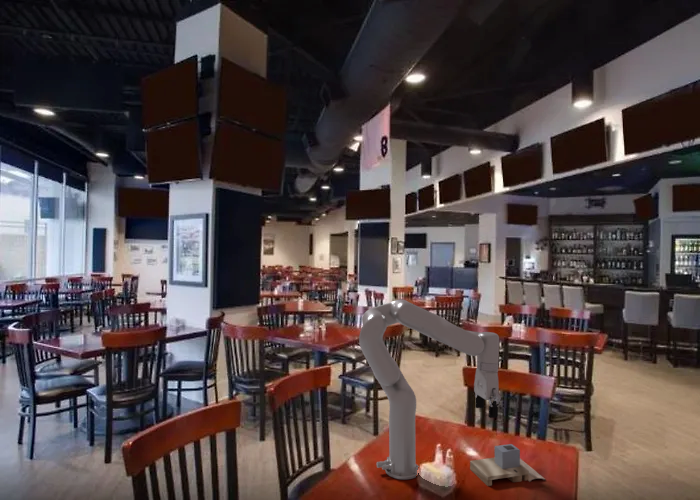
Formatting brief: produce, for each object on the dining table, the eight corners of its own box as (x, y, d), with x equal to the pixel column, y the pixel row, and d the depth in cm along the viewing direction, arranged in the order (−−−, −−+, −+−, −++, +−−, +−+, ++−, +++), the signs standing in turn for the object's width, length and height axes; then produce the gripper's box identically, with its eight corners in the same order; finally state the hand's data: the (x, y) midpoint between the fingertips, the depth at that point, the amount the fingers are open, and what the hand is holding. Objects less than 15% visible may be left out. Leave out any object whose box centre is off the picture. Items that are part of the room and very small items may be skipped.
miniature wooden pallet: (487, 486, 153) (487, 476, 153) (470, 469, 164) (470, 460, 164) (528, 480, 156) (528, 470, 156) (508, 464, 168) (508, 455, 168)
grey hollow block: (502, 469, 158) (502, 451, 158) (494, 462, 163) (494, 445, 163) (519, 466, 160) (519, 449, 160) (511, 460, 164) (511, 443, 164)
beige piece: (545, 482, 156) (545, 477, 156) (527, 484, 155) (527, 479, 155) (509, 452, 179) (509, 448, 179) (493, 453, 178) (493, 449, 178)
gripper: (467, 360, 173) (465, 404, 173) (490, 372, 156) (488, 421, 156) (485, 360, 175) (483, 404, 175) (509, 372, 158) (508, 420, 158)
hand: (486, 412), depth 165 cm, fingers open, 9 cm apart
